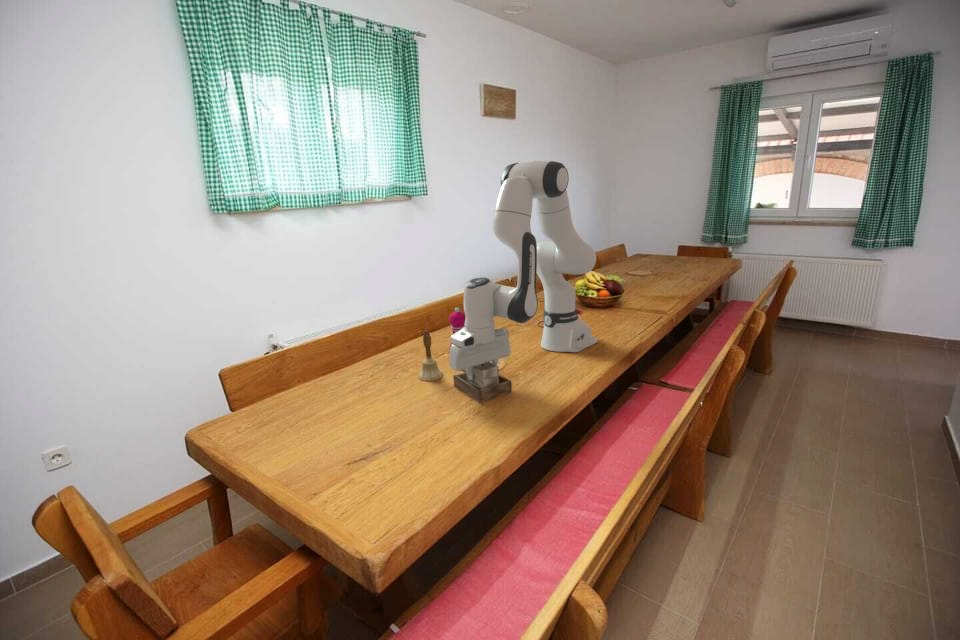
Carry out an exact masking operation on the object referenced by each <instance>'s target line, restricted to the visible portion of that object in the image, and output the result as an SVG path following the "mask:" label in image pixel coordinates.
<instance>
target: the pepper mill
mask: <svg viewBox="0 0 960 640" xmlns="http://www.w3.org/2000/svg"><path fill="white" fill-rule="evenodd" d="M460 310H461V309H460V308H459V307H455V308H454V312H452V313H451V314H450V315H449V317H448V321H449V323H450V325H451V326H450V330H451V331H452V335H453V334H455V333H456V332H458V331H459V330H461V329H462V328H464V327H465V320H466V316H465V312H462V311H460ZM452 344H453V343H452V342H451V341H450V345H449V351H450V347H451V345H452Z"/></svg>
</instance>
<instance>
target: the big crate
mask: <svg viewBox="0 0 960 640" xmlns="http://www.w3.org/2000/svg"><path fill="white" fill-rule="evenodd" d="M512 384H513V383H512V380H510V379H508V378H506V377H504V376H503V375H501V374H499V384H497V385H494V386H491V387H488V388H484V389H480V388H478V387H476V386H475V385H473V384H471V383H470V382H468V381H467V380H466V371H464V372H460V373H456V374H453V386H454V387H455V388H457V389H458V390H459V391H461V392H462V393H464V394H466V395H467V396H469V398H472V399H473V400H474V401H475V402H478V403H479V404H481V403H484V402H488V401H490V400H492V399H495V398H497V397H501V396H504V395H507V394H509V393H512V392H513V391H512V390H513V389H512V388H513V387H512Z"/></svg>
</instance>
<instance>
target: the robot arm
mask: <svg viewBox="0 0 960 640" xmlns="http://www.w3.org/2000/svg"><path fill="white" fill-rule="evenodd" d="M569 179H570V177H569V171H568V169H567V168H566V167H565V165H564V164H563V163H561V162H560V161H559V162H558V161H555V160H554V161H553V160H551V161H546V160H545V161H542V160H533V161H526V162H520V163H519V162H515V163H511V164H508V165H507V166H506V167H504V169H503V171H502V172H501V176H500V189H499V192H498V195H497V199H496V202H495V207H494V214H493V219H492V232H493V233H494V235H495V236H496V238H497V240H498V241H500V242H501V243H502V244H503V245H505V246H507V247H508V248H510V249H511V250H512V251H513V252H514V254H515V255H516V258H517V284H516V287H515V286H508V285H504V284H498V283H495V282H493V281H491V279H490V278H488V277H475V278H473V279H470V280H468V281H467V282H466V283H465V285H464V290H463V313H464V314H465V316H466V320H465V324H464V325H465V327H464V328H462V329H461V330H459V331H458V332H456V333H455V334H453V333H452V334H451V336H450V338H449V340H450V343H451V342H452V343H453V344H452V345H451V344H450V345H451V347H450V346H449V348H450V351H449V353H448V354H449V355H448V356H449V360H448V361H449V362H448V363H449V367H450V368H451V369H453V370H454V371H456V372H461V371H463V370H464V372H467V373H468V379H469V380H474V379H475V374H474V373H472V372H471V371H470V370H472V367H473V366H477V365H480V364H484V363H487V362H491V363H493V364H495V365H496V366H498V363H499V360H500V359H503V358H507V357H509V356H510V355H511V353H512V352H511V343H510V338H509V335H510V332H509V330H508V329H507V328H505V327H503V326H502V327H499V328H495V327H496V325H495V324H496V323H495V320H494V319H495V318H496V317H498V318H502V319H506V320H510V321H512V322H515V323H519V324H524V323H527V322H529V321H530V320H531V319H532V318H534V316H536V314H537V311H538V308H539V307H538V306H539V305H538V303H539V301H538V300H539V299H538V293H537V276H538V278H539V280H540V282H541V285H542V287H543V288H542V289H543V293H544V309H543V330H542V336H541V342H540V347H541V348H542V349H543V350H544V349H545V350H547V351H550V352H557V353H560V352H561V353H563V352H565V353H566V352H567V353H569V352H570V353H578V352H580V351H583V350H584V349H586V348H589V347H591V346H593V345H595V344H597V343H598V342H599V341H598V338H597V337H595V336H593V335H592V329H591V326H590V325H589V324H587V323H586V322H584V321H583V320H582V319H581V318H579V315H580V316H582V315H583V314H584V309H581V308H577V309H576V290H575V287H574V285H572V284H571V283H569V282H568V281H567V280H566V279H565V278H564V276H563V274H566V275H585V274H588V273H590V272H591V271H592V270H593V269H594V267H595V265H596V264H597V263H596V262H597V254H596V252H595V249H594V248H593V246H591V245H590V244H588V243H587V242H586V241H585V240H583V238H582V237H581V236H580V235H579V233H578V232H577V230H576V228H575V226H574V224H573V219H572V215H571V209H570V208H571V207H570V201H569V196H568V191H567V188H568V186H569ZM533 201H534V204H535V210H536V211H535V212H536V216H537V221H538V228H539V230H540V232H541V234H542V235H543V236H544V237H546V238H548V239H549V240H551V241H539V242H537V239H536V236H535V235H534V234H533V233H532V228H531V217H532V212H533Z"/></svg>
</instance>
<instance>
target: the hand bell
mask: <svg viewBox="0 0 960 640" xmlns="http://www.w3.org/2000/svg"><path fill="white" fill-rule="evenodd" d="M422 340H423V346H424V348H425V357H426V358H425V359H424V360H423V361H422V367H421V370H420V371H419V373H418V375H417V378H418V379H419V380H421V381H425V382H434V381H436V380H439V379H441V378H442V377H443V375H444V374H443V371H442V370H440V369H439V367H438V364H437V360H436V359H435V358H432V357H433V356H432V351H431V347H432V337H431V334H430V331H429V330H428V329H425V330H424V332H423V337H422Z"/></svg>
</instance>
